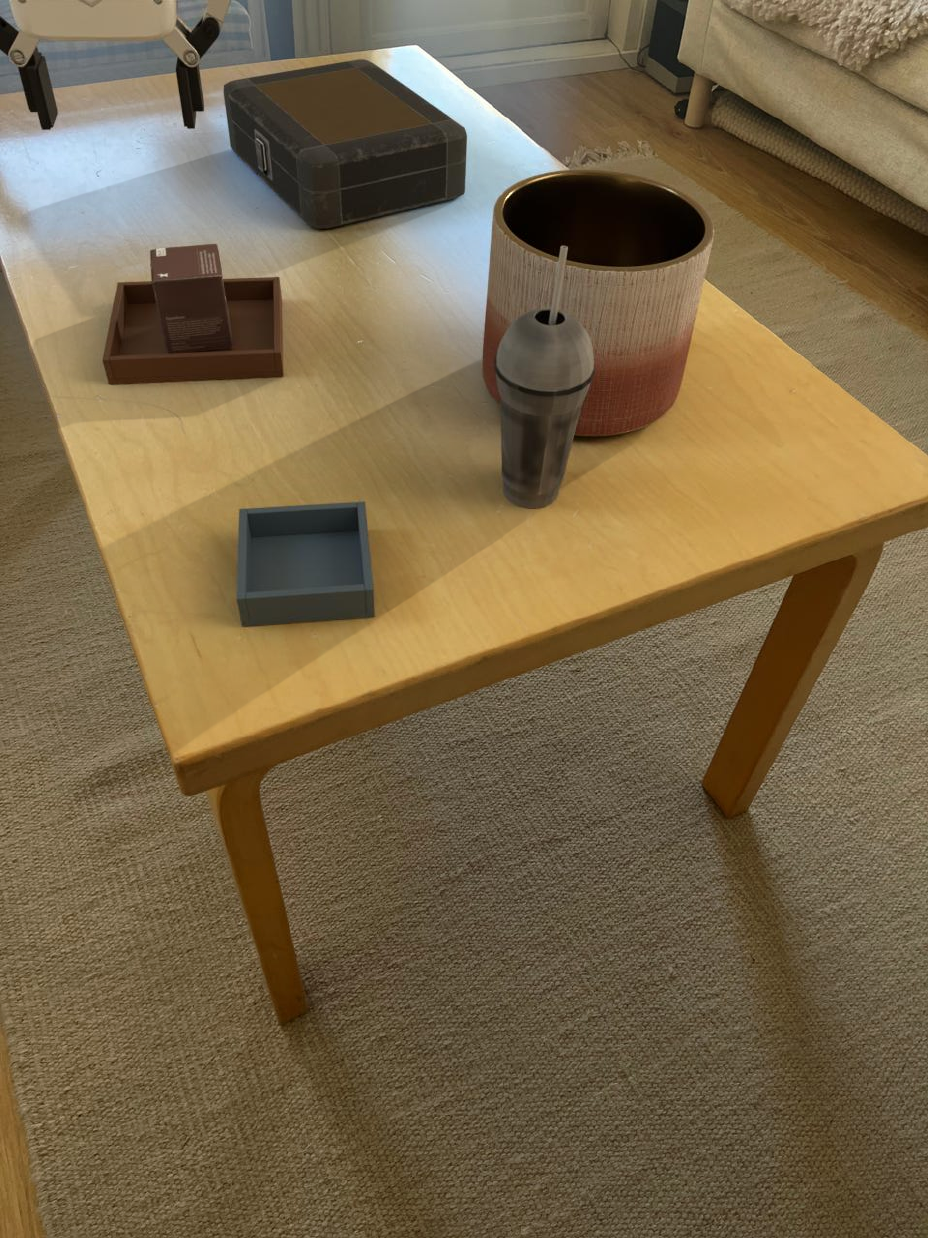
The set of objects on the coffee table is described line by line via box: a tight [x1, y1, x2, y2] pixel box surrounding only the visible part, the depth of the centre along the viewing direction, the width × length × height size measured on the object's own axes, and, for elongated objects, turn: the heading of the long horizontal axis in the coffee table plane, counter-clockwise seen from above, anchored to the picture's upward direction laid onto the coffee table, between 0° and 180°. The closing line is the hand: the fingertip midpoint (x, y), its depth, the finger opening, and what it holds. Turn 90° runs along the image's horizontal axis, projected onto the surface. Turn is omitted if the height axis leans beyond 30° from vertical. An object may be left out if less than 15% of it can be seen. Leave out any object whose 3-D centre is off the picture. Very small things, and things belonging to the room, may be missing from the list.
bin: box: [236, 501, 376, 627], centre depth 71 cm, size 9×9×3 cm
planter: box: [481, 168, 715, 438], centre depth 84 cm, size 18×18×16 cm
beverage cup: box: [494, 246, 595, 509], centre depth 72 cm, size 7×7×20 cm
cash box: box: [223, 58, 468, 230], centre depth 115 cm, size 25×20×8 cm
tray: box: [102, 276, 284, 385], centre depth 91 cm, size 15×13×2 cm
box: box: [149, 243, 233, 354], centre depth 89 cm, size 6×6×7 cm
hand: (121, 121), depth 70 cm, fingers open, 9 cm apart
